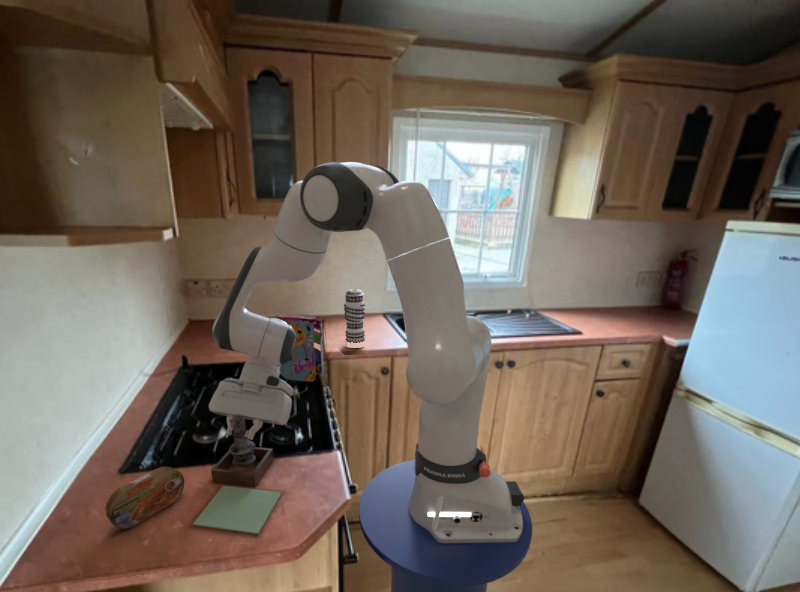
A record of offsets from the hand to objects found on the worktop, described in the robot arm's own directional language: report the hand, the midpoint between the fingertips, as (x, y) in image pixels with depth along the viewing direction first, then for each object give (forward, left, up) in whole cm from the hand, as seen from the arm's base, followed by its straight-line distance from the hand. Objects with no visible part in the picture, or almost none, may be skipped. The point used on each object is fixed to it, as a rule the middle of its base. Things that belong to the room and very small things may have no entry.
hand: (239, 437), depth 95 cm
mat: (-5, +12, -10) cm, 16 cm away
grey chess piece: (0, -1, -7) cm, 7 cm away
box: (+7, -52, -10) cm, 53 cm away
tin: (+13, +16, -10) cm, 23 cm away
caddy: (0, -1, -10) cm, 10 cm away
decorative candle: (-7, -93, -10) cm, 94 cm away
